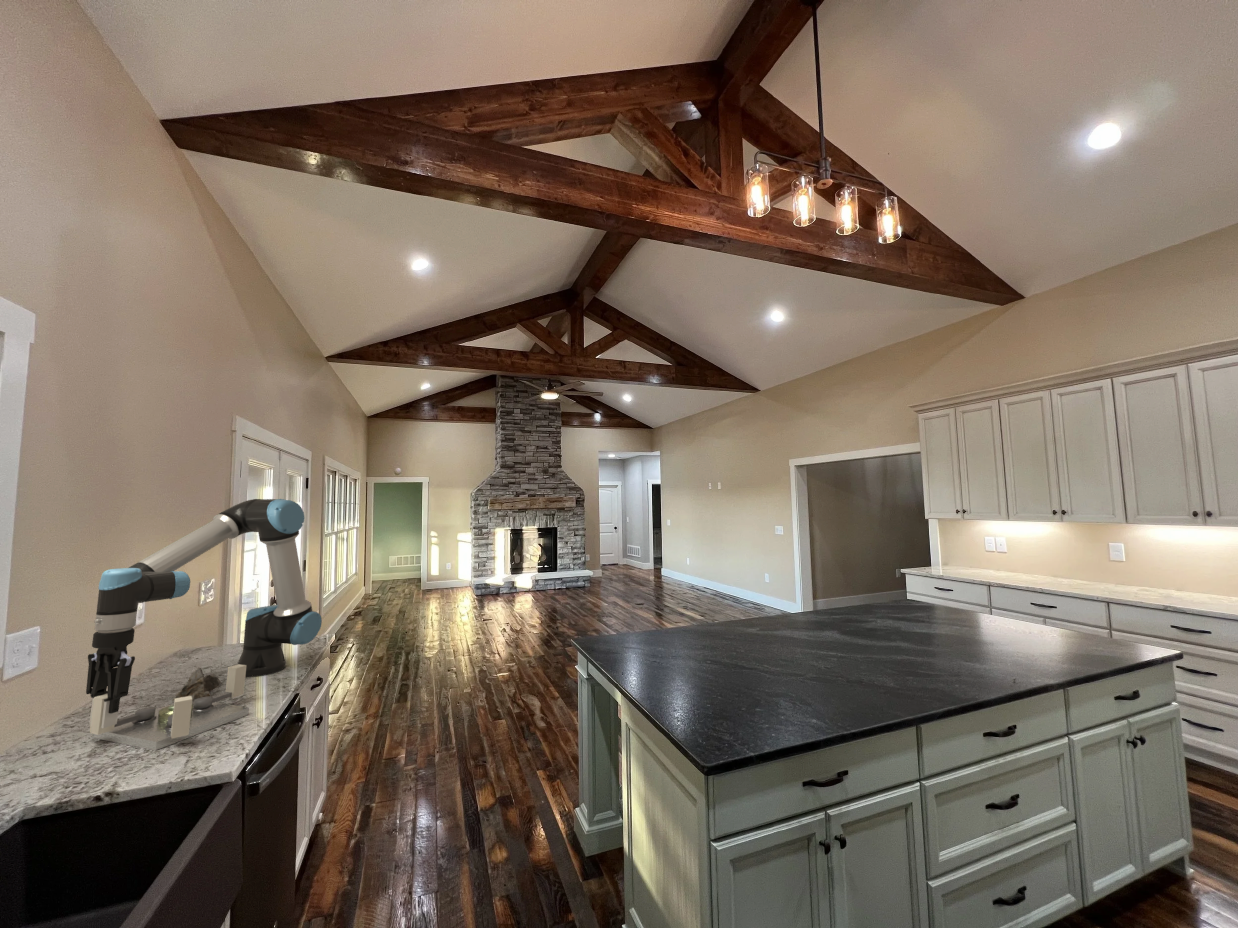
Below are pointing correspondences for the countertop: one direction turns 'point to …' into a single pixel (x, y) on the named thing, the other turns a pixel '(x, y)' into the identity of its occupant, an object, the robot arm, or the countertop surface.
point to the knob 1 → (98, 714)
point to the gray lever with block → (232, 687)
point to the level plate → (159, 734)
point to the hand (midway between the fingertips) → (102, 724)
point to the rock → (198, 685)
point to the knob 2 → (180, 717)
